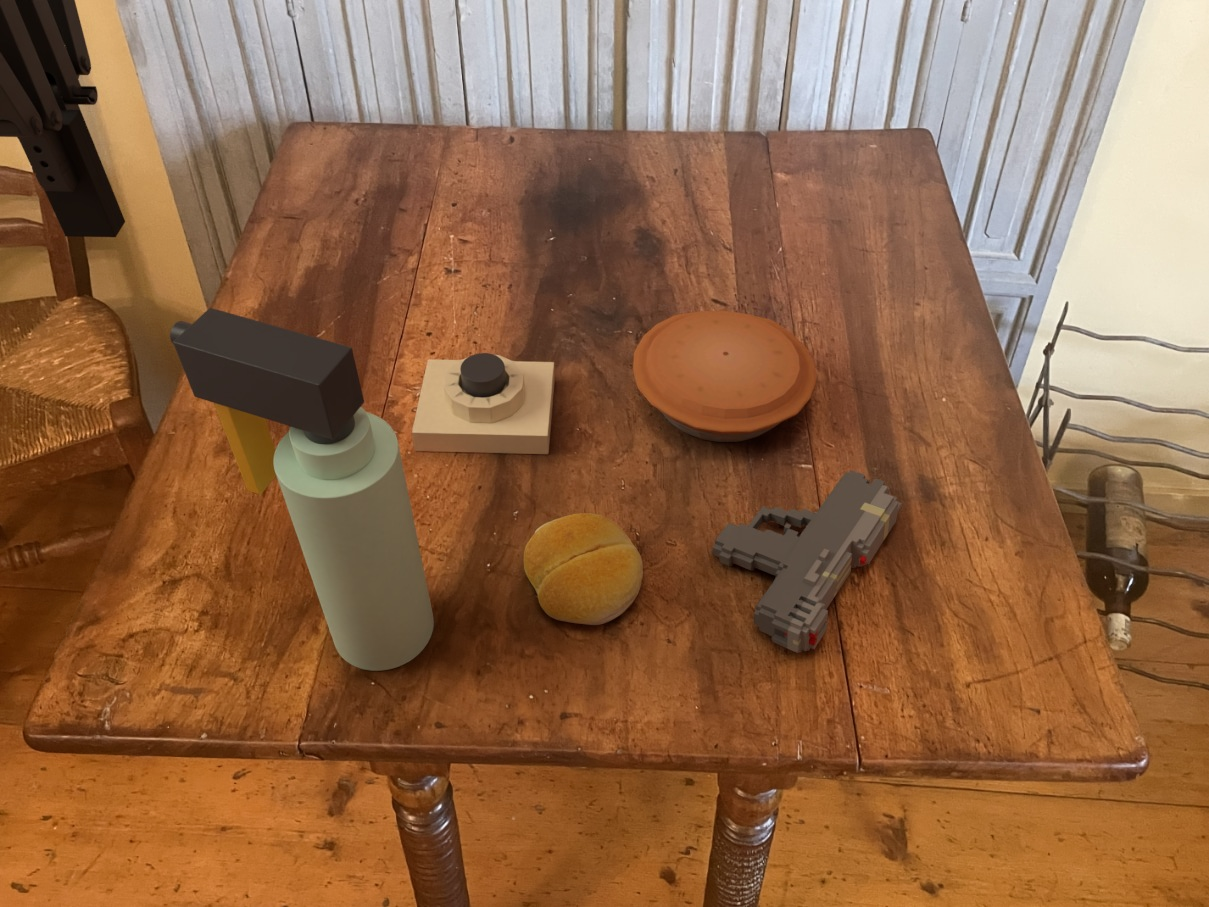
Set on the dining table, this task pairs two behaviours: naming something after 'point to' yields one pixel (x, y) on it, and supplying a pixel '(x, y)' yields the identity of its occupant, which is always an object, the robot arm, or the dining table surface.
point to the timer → (485, 411)
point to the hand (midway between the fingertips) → (95, 228)
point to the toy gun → (810, 555)
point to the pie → (723, 374)
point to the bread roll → (583, 568)
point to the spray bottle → (325, 477)
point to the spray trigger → (249, 446)
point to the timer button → (483, 375)
